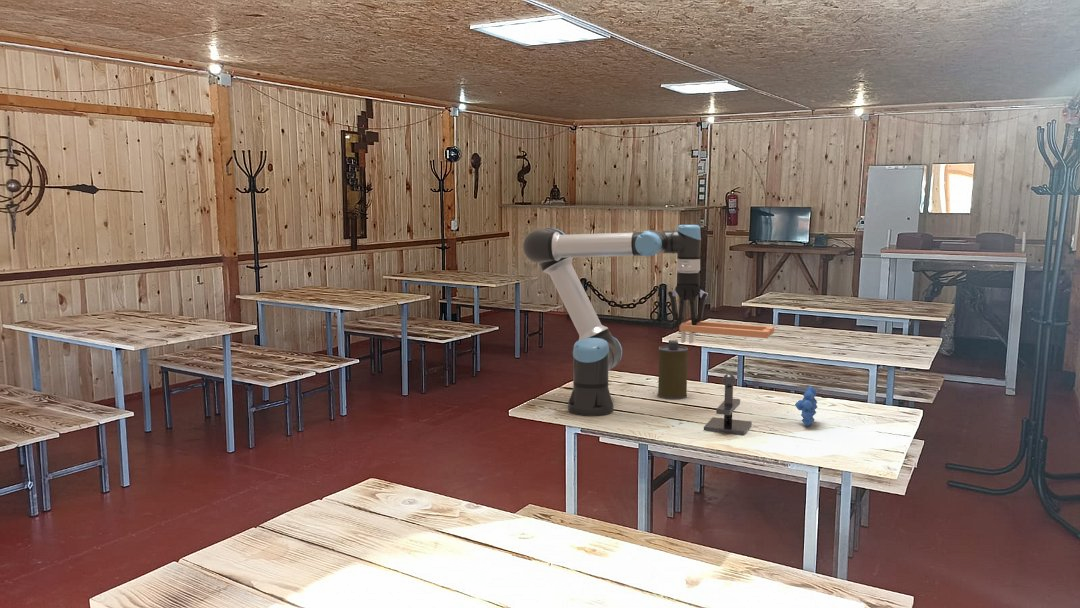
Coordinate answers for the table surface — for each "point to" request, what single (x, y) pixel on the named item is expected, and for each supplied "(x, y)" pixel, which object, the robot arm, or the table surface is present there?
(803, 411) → the grapes
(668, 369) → the canister
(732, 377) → the stand
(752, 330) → the link
